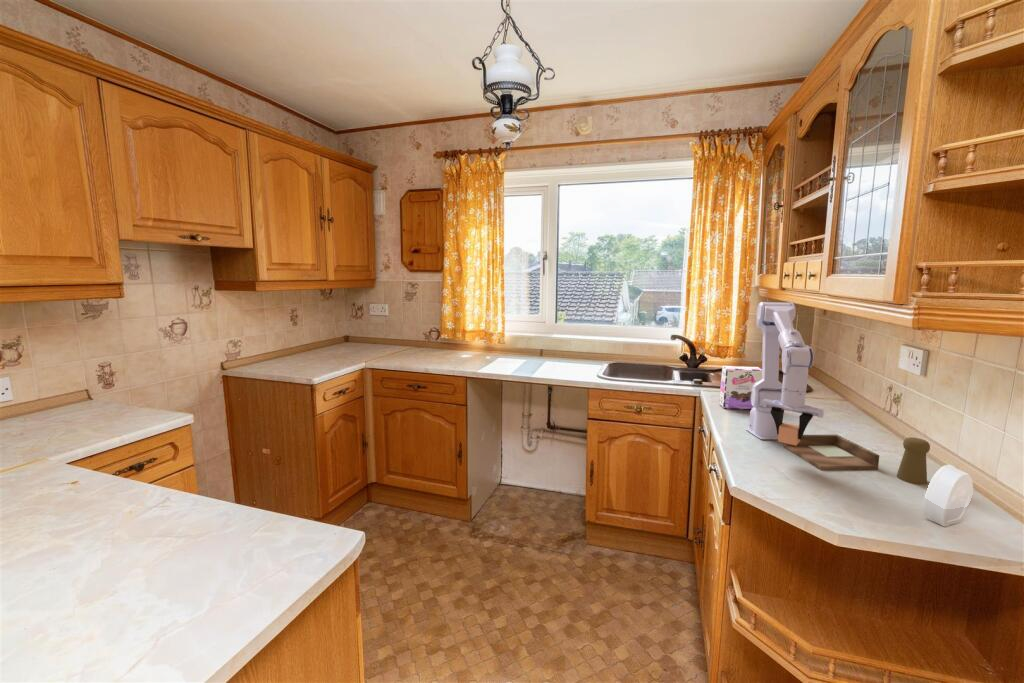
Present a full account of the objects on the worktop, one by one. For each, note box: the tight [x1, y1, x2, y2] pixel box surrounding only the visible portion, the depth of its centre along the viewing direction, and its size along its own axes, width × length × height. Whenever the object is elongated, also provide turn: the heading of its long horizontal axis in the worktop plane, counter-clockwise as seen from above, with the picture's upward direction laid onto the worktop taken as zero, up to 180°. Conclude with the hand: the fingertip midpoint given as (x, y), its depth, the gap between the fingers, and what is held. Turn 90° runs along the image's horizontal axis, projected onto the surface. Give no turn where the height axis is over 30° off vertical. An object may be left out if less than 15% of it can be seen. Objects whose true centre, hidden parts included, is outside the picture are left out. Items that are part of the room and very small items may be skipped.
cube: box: [777, 422, 800, 445], centre depth 127 cm, size 4×4×4 cm
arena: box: [784, 434, 880, 471], centre depth 131 cm, size 16×16×4 cm
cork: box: [896, 436, 931, 485], centre depth 117 cm, size 6×6×11 cm
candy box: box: [718, 365, 763, 410], centre depth 179 cm, size 14×6×16 cm, turn 81°
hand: (789, 436), depth 127 cm, fingers closed on cube, 4 cm apart
